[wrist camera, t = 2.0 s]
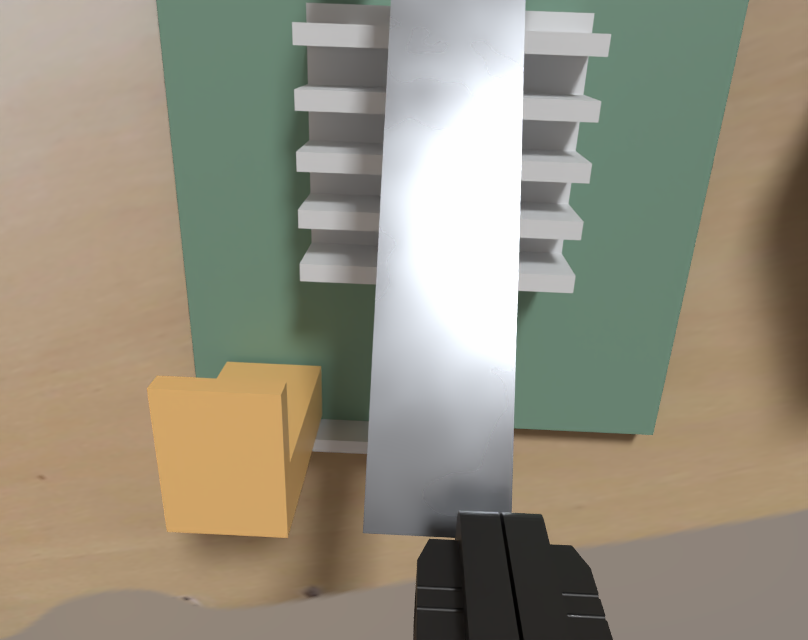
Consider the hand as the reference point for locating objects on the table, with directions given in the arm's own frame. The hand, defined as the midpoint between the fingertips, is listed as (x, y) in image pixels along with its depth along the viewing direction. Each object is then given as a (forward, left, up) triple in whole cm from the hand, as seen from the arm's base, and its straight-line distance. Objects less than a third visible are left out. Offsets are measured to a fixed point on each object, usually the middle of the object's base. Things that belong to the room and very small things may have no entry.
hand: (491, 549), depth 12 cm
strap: (+1, -6, -6) cm, 9 cm away
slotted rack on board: (+1, -5, -17) cm, 17 cm away
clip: (+7, +4, -15) cm, 17 cm away
